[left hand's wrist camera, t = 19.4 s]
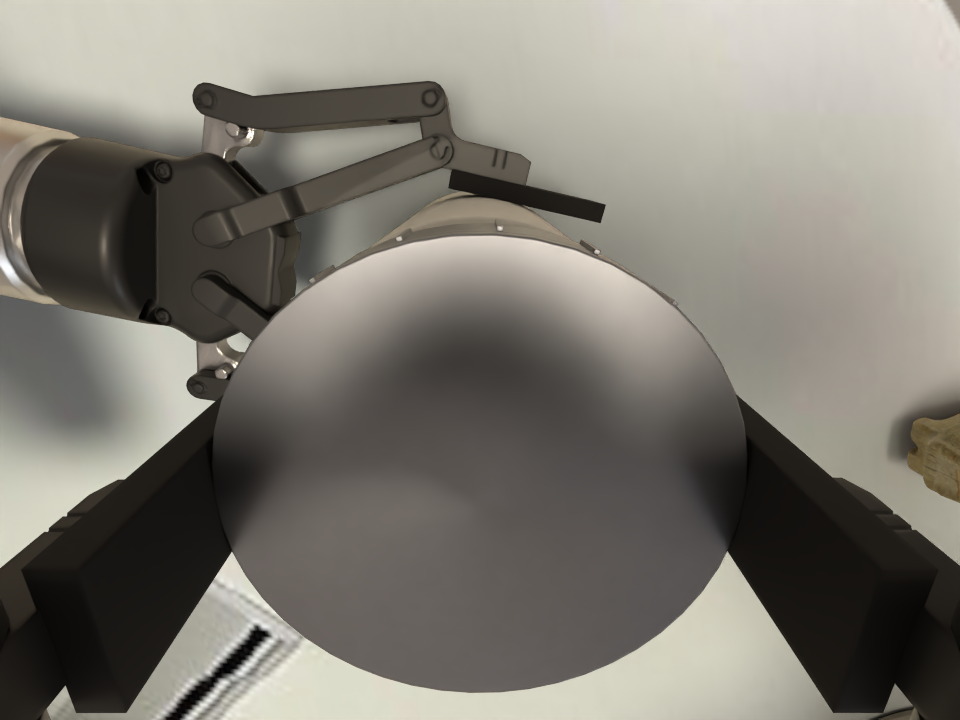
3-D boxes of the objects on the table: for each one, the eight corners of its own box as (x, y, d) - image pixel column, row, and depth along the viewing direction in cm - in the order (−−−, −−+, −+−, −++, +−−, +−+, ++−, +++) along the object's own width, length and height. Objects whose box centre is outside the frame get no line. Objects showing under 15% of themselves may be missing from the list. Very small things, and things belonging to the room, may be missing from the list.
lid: (364, 668, 15) (348, 739, 13) (157, 323, 11) (93, 353, 9) (745, 565, 13) (787, 627, 11) (647, 137, 10) (685, 129, 8)
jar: (542, 168, 28) (645, 170, 11) (576, 338, 31) (694, 541, 14) (367, 215, 29) (207, 285, 12) (419, 375, 32) (353, 610, 15)
